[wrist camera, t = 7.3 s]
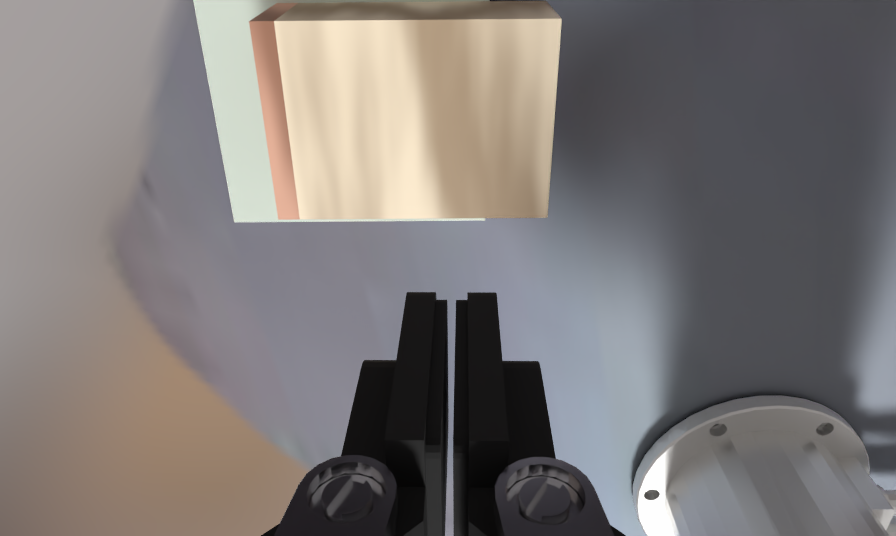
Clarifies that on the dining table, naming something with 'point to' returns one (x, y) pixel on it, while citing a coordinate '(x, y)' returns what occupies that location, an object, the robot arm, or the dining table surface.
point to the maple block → (408, 108)
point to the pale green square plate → (248, 105)
